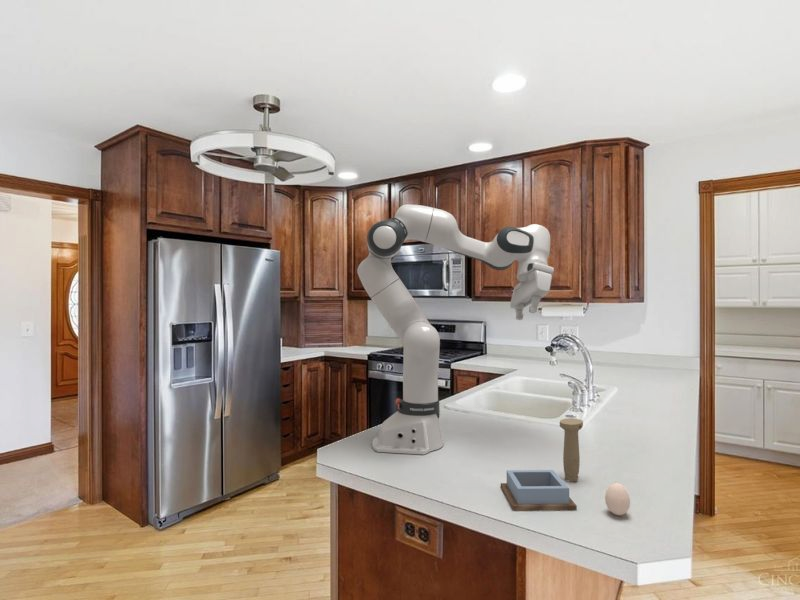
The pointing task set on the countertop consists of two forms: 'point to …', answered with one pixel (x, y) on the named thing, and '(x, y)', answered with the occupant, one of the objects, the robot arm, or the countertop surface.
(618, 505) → the egg
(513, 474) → the square frame
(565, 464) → the handle
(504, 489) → the board
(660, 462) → the countertop surface
